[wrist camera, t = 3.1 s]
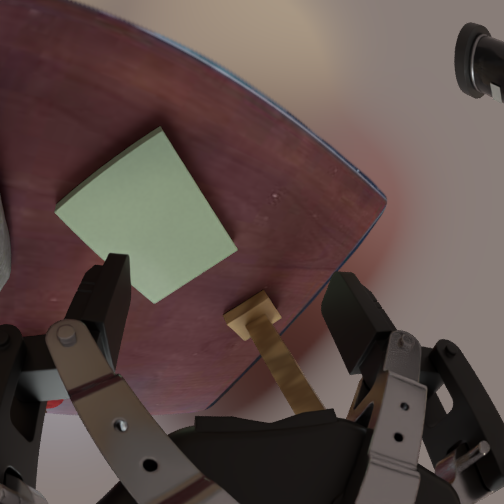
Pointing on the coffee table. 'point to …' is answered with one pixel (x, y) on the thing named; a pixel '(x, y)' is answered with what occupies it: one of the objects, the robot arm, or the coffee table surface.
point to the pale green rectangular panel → (148, 217)
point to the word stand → (273, 350)
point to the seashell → (4, 249)
